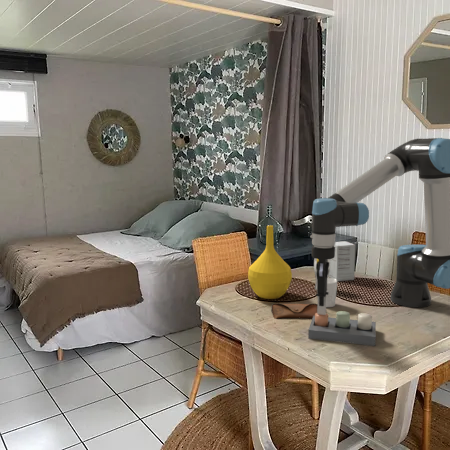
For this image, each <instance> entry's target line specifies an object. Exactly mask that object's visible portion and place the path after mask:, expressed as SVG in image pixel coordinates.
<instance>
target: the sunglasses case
mask: <svg viewBox="0 0 450 450" xmlns="http://www.w3.org/2000/svg"><path fill="white" fill-rule="evenodd" d="M317 305H318V303H307V304H306V303H280V302H279V303H278V302H277V303H272V304H271V308H270V309H271V311H270V312H271V314H272V317H273V318H274V319H275V320H282V319H287V320H288V319H289V320H291V319H292V320H293V319H299V320H300V319H302V320H303V319H307V320H308V319H309V320H310V319H311V320H312V318H313V316H315V313H317Z"/></svg>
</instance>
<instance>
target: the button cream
mask: <svg viewBox="0 0 450 450" xmlns="http://www.w3.org/2000/svg"><path fill="white" fill-rule="evenodd" d="M357 320H358V328H360V329H363V330H369V329H371V328H372V322H373V315H372V314H370V313H365V312H361V313H358V314H357Z"/></svg>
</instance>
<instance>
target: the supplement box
mask: <svg viewBox="0 0 450 450" xmlns="http://www.w3.org/2000/svg"><path fill="white" fill-rule="evenodd" d="M334 247H335V257H334V258H333V259H330V272H329V277H328V278H333V279H336V280H337V282H343V281H344V282H346V281H354V280H355V267H356V266H355V264H356V244H353V243H351V242H349V241H345V240H343V241H335V245H334Z"/></svg>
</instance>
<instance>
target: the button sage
mask: <svg viewBox="0 0 450 450" xmlns="http://www.w3.org/2000/svg"><path fill="white" fill-rule="evenodd" d="M335 318H336V325H337V326H338V327H349V326H350V319H351V313H350V312H348V311H345V310H343V311H342V310H340V311H337V312H336V313H335Z"/></svg>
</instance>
